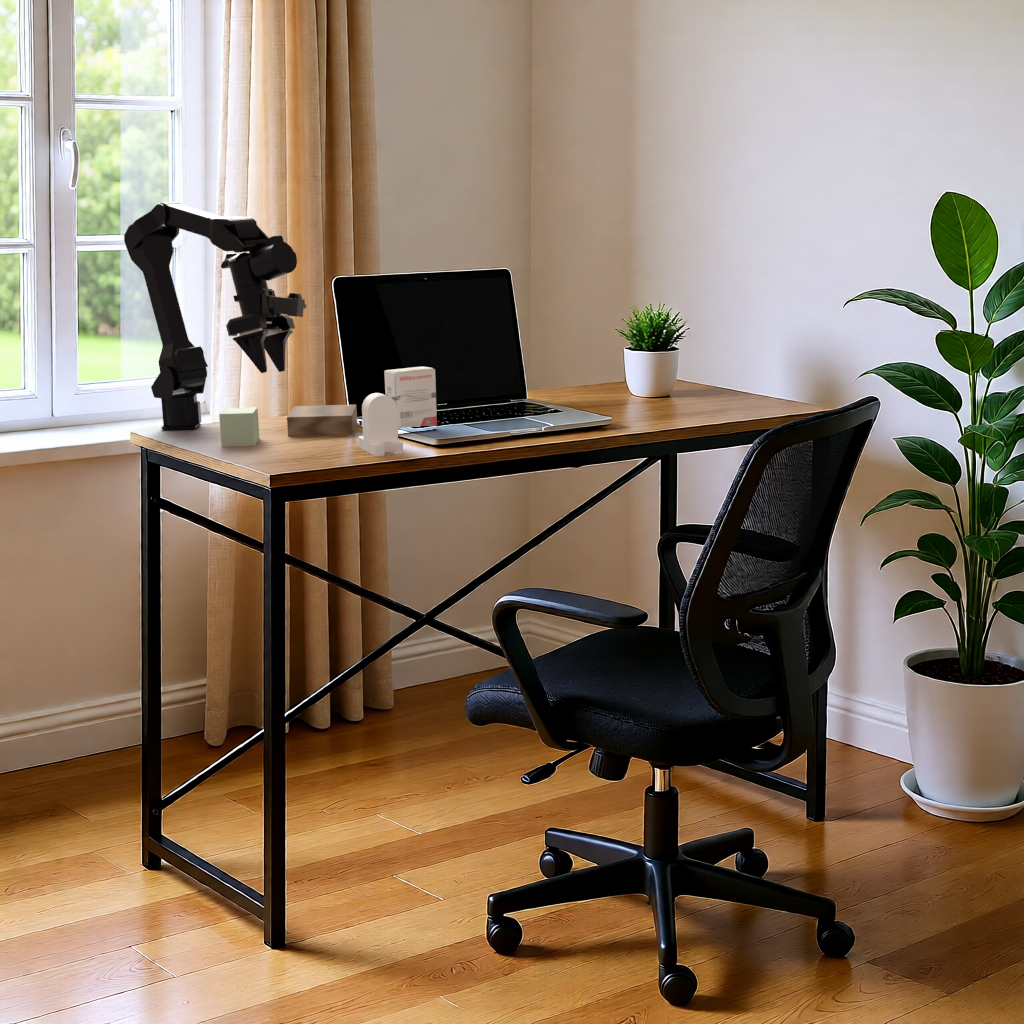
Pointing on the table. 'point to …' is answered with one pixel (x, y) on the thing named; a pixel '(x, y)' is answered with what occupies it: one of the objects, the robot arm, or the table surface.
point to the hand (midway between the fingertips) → (273, 371)
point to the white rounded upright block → (380, 426)
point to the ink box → (413, 395)
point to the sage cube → (239, 426)
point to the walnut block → (322, 420)
